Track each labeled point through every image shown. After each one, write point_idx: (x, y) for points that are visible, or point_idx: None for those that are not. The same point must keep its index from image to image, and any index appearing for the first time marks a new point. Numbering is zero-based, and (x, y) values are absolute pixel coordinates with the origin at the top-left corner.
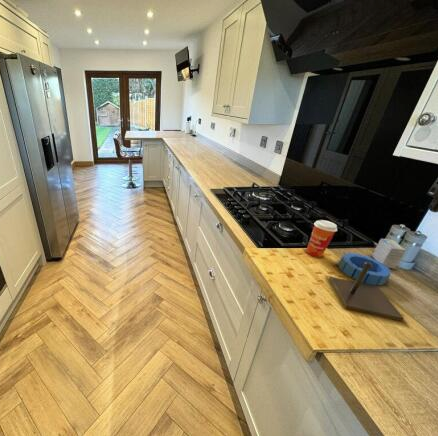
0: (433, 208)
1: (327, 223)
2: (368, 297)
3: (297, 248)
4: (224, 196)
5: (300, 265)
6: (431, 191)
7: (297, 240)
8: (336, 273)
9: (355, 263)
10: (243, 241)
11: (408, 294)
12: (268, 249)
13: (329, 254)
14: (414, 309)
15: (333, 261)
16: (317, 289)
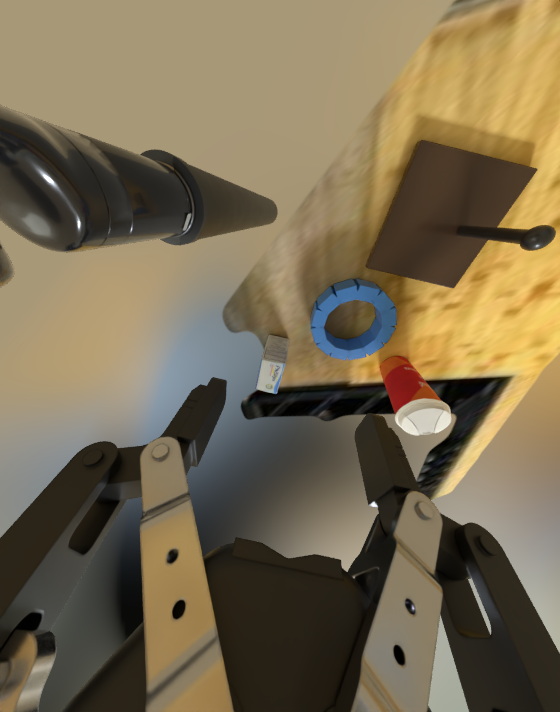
0: (392, 436)
1: (421, 423)
2: (435, 217)
3: None
4: None
5: (469, 326)
6: (458, 580)
7: None
8: (408, 308)
9: (341, 340)
10: (524, 393)
11: (307, 257)
12: (490, 372)
13: (362, 365)
14: (340, 202)
15: None
16: None
